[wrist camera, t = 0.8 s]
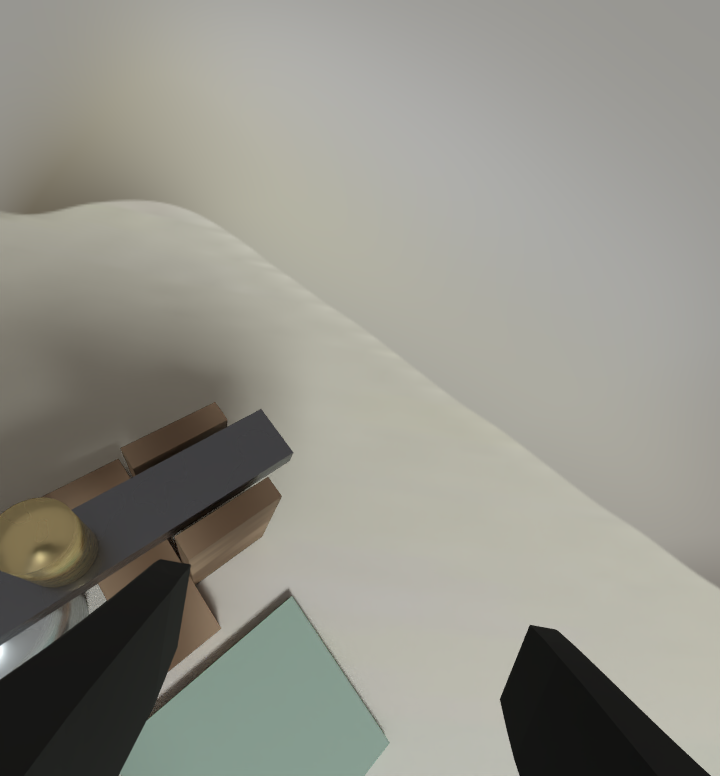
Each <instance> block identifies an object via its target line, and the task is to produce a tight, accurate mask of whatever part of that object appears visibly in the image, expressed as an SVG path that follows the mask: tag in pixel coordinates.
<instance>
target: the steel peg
mask: <svg viewBox="0 0 720 776" xmlns="http://www.w3.org/2000/svg"><path fill="white" fill-rule="evenodd" d="M88 615H89V611H88V605H87V602H86V599H85V597H84V596H83V594H81V595H79V596H77V597H76V598H74V599H73V600H71V601H70V602H68V603H66V604H65V605H63V606H62V607H60V608H59V609H57V610H56V611H54V612H52V613H51V614H49V615H48V616H46V617H45V618H43V619H41V620H40V621H38V622H37V623H35V624H34V625H32V626H30V627H29V628H27V629H26V630H24V631H23V632H21V633H20V634H18V635H16V636H15V637H13V638H12V639H10V640H9V641H7V642H5V643H4V644H2V645H1V646H0V679H2V678H3V677H4V676H6V675H7V674H9V673H10V672H12V671H13V670H14V669H16V668H17V667H19V666H20V665H22V664H23V663H24V662H26V661H27V660H29V659H30V658H31V657H33V656H34V655H36V654H37V653H39V652H40V651H41V650H43V649H44V648H46V647H47V646H48V645H50V644H51V643H52V642H54V641H55V640H57V639H58V638H59V637H60V636H62V635H63V634H64V633H66V632H67V631H68V630H70V629H71V628H72V627H74V626H75V625H76V624H78V623H79V622H80V621H82V620H83V619H84V618H86V617H87V616H88Z"/></svg>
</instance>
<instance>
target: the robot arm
mask: <svg viewBox="0 0 720 776" xmlns="http://www.w3.org/2000/svg"><path fill="white" fill-rule="evenodd" d="M190 568H191V564H186V563H180V562H174V561H169V560H163V559H159V560H158V561H156V562H154V563H153V564H152V565H150V566H149V567H148V568H147V569H146V570H144V571H143V572H142V573H141V574H140V575H138V576H137V577H136V578H135V579H134V580H132V581H131V582H130V583H129V584H127V585H126V586H125V587H124V588H122V589H121V590H120V591H119V592H118V593H116V594H115V595H114V596H113V597H111V598H110V599H109V600H107V601H106V602H105V603H104V604H102V605H101V606H100V607H99V608H97V609H96V610H95V611H93V612H92V613H91V614H90V615H88V616H87V617H86V618H84V619H83V620H82V621H80V622H79V623H78V624H76V625H75V626H74V627H72V628H71V629H70V630H68V631H67V632H66V633H64V634H63V635H62V636H60V637H59V638H58V639H57V640H55V641H54V642H52V643H51V644H50V645H48V646H47V647H46V648H44V649H43V650H41V651H40V652H39V653H37V654H36V655H34V656H33V657H31V658H30V659H29V660H27V661H26V662H24V663H23V664H22V665H20V666H19V667H17V668H16V669H14V670H13V671H12V672H10V673H9V674H7V675H6V676H4V677H3V678H2V679H0V776H119V774H120V772H121V770H122V768H123V766H124V764H125V762H126V760H127V758H128V756H129V754H130V752H131V750H132V748H133V746H134V744H135V742H136V740H137V739H138V737H139V735H140V733H141V731H142V729H143V727H144V725H145V723H146V721H147V719H148V717H149V715H150V713H151V711H152V709H153V707H154V704H155V702H156V700H157V697H158V695H159V692H160V690H161V687H162V685H163V682H164V680H165V677H166V675H167V672H168V670H169V667H170V665H171V662H172V660H173V657H174V655H175V652H176V650H177V647H178V641H179V635H180V629H181V623H182V617H183V611H184V605H185V599H186V593H187V587H188V581H189V575H190ZM500 701H501V706H502V710H503V715H504V719H505V724H506V728H507V733H508V737H509V740H510V744H511V748H512V752H513V756H514V760H515V763H516V766H517V769H518V772H519V775H520V776H711V775H709V774H708V773H707V772H706V771H705V770H704V769H703V768H702V767H701V766H700V765H698V764H697V763H696V762H695V761H694V760H693V759H692V758H691V757H690V756H689V755H688V754H687V753H686V752H685V751H683V750H682V749H681V748H680V747H679V746H678V745H677V744H676V743H675V742H674V741H673V740H672V739H671V738H670V737H669V736H668V735H667V734H665V733H664V732H663V731H662V730H661V729H660V728H659V727H658V726H657V725H656V724H655V723H654V722H653V721H652V720H651V719H650V718H649V717H648V716H647V715H646V714H645V713H644V712H643V711H642V710H641V709H640V708H638V707H637V706H636V705H635V704H634V703H633V702H632V701H631V700H630V699H629V698H628V697H627V696H626V695H625V694H624V693H623V692H622V691H621V690H620V689H619V688H618V687H617V686H616V685H615V684H614V683H613V682H612V681H611V680H610V679H609V678H608V677H607V676H606V675H605V674H604V673H603V672H602V671H600V670H599V669H598V668H597V667H596V666H595V665H594V664H593V663H592V662H591V661H590V660H589V659H588V658H587V657H586V656H585V655H584V654H583V653H582V652H581V651H580V650H579V649H577V648H576V647H575V646H574V645H573V644H572V643H571V642H570V641H569V640H568V639H567V638H565V637H564V636H563V635H562V634H561V633H560V632H559V631H557V630H555V629H550V628H544V627H538V626H533V625H530V626H529V628H528V631H527V633H526V636H525V638H524V641H523V643H522V646H521V648H520V651H519V653H518V656H517V658H516V661H515V663H514V666H513V668H512V671H511V673H510V675H509V678H508V680H507V683H506V685H505V688H504V690H503V693H502V695H501V698H500Z"/></svg>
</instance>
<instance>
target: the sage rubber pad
mask: <svg viewBox="0 0 720 776" xmlns="http://www.w3.org/2000/svg"><path fill="white" fill-rule="evenodd" d="M389 743H390V742H389V741H388V739H387V738H386V736H385V735H384V733H383V732H382V730H381V729H380V727H379V726H378V724H377V723H376V721H375V720H374V718H373V717H372V715H371V714H370V712H369V711H368V709H367V708H366V706H365V705H364V703H363V702H362V700H361V699H360V697H359V696H358V694H357V693H356V691H355V690H354V688H353V687H352V685H351V684H350V682H349V681H348V679H347V678H346V676H345V675H344V673H343V672H342V670H341V669H340V667H339V666H338V664H337V663H336V661H335V660H334V658H333V657H332V655H331V654H330V652H329V651H328V649H327V648H326V646H325V645H324V643H323V642H322V640H321V639H320V637H319V636H318V634H317V633H316V631H315V630H314V628H313V627H312V625H311V624H310V622H309V621H308V619H307V618H306V616H305V615H304V613H303V612H302V610H301V609H300V607H299V606H298V604H297V603H296V601H295V600H294V598H293V597H292V596H291V597H290V598H289V599H287V600H286V601H285V602H284V603H283V604H282V605H280V606H279V607H278V608H277V609H276V610H275V611H273V612H272V613H271V614H270V615H269V616H268V617H266V618H265V619H264V620H263V621H262V622H261V623H259V624H258V625H257V626H256V627H255V628H254V629H252V630H251V631H250V632H249V633H248V634H247V635H246V636H244V637H243V638H242V639H241V640H240V641H239V642H237V643H236V644H235V645H234V646H233V647H232V648H230V649H229V650H228V651H227V652H226V653H225V654H223V655H222V656H221V657H220V658H219V659H218V660H216V661H215V662H214V663H213V664H212V665H211V666H209V667H208V668H207V669H206V670H205V671H204V672H202V673H201V674H200V675H199V676H198V677H197V678H195V679H194V680H193V681H192V682H191V683H190V684H188V685H187V686H186V687H185V688H184V689H183V690H181V691H180V692H179V693H178V694H177V695H176V696H174V697H173V698H172V699H171V700H170V701H169V702H167V703H166V704H165V705H164V706H163V707H162V708H161V709H159V710H158V711H157V712H156V713H155V714H154V715H152V716H151V717H150V718H149V719H148V720H147V721H146V723H145V725H144V727H143V729H142V731H141V733H140V735H139V737H138V739H137V740H136V742H135V744H134V746H133V748H132V750H131V752H130V754H129V756H128V758H127V760H126V762H125V764H124V766H123V768H122V770H121V772H120V774H121V776H365V774H366V773H367V772H368V770H369V769H370V768H371V766H372V765H373V764H374V763H375V761H376V760H377V759H378V757H379V756H380V755H381V753H382V752H383V751H384V750H385V748H386V747H387V746H388V744H389Z"/></svg>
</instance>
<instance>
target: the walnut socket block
mask: <svg viewBox="0 0 720 776" xmlns="http://www.w3.org/2000/svg"><path fill="white" fill-rule="evenodd" d="M227 420H228V419H227V418H226V417H225V415H224V414H223V412H222V411H221V410H220V408H219V407H218V405H217V404H216V402H214V403H212V404H210V405H208V406H206V407H204V408H202V409H200V410H198V411H196V412H194V413H192V414H190V415H188V416H185V417H183V418H181V419H179V420H177V421H175V422H173V423H171V424H169V425H167V426H165V427H163V428H161V429H159V430H157V431H155V432H153V433H151V434H148V435H146V436H144V437H142V438H140V439H138V440H136V441H134V442H132V443H130V444H128V445H126V446H124V447H122V448H120V449H121V451H122V453H123V456H124V458H125V460H126V462H127V465H128V467H129V469H130V472H131V474H132V476H133V477H134V476H136V475H138V474H140V473H142V472H143V471H145V470H147V469H149V468H151V467H153V466H155V465H157V464H158V463H160V462H162V461H164V460H166V459H168V458H170V457H172V456H174V455H175V454H177V453H179V452H181V451H183V450H185V449H187V448H189V447H191V446H192V445H194V444H196V443H198V442H200V441H202V440H204V439H206V438H207V437H209V436H211V435H213V434H215V433H217V432H219V431H221V430H223V429H224V428H226V427H227ZM128 479H130V477H129V475H128V474H127V472H126V470H125V469H124V467H123V465H122V464H121V462H120V460H119V459H117V460H115V461H113V462H111V463H109V464H107V465H105V466H103V467H101V468H99V469H97V470H95V471H93V472H91V473H89V474H87V475H85V476H83V477H81V478H79V479H77V480H75V481H73V482H71V483H69V484H67V485H65V486H63V487H61V488H59V489H57V490H55V491H53V492H51V493H49V494H47V495H45V496H43V497H41V498H52V499H56V500H58V501H61V502H62V503H64V504H65V505H67V506H68V507H69V508H70V509H71V510H72V509H74V508H76V507H78V506H79V505H81V504H83V503H85V502H87V501H89V500H91V499H93V498H94V497H96V496H98V495H100V494H102V493H104V492H106V491H108V490H110V489H111V488H113V487H115V486H117V485H119V484H121V483H123V482H125V481H126V480H128ZM281 497H282V496H281V494H280V493H279V492H278V490H277V489H276V487H275V486H274V484H273V483H272V482H271V480H270V479H269V477H267V478H265V479H264V480H262V481H261V482H259V483H258V484H256V485H254V486H253V487H251V488H250V489H248V490H247V491H245V492H244V493H242V494H240V495H239V496H237V497H236V498H234V499H233V500H231V501H229V502H228V503H226V504H225V505H223V506H222V507H220V508H219V509H217V510H215V511H214V512H212V513H211V514H209V515H208V516H206V517H205V518H203V519H201V520H200V521H198V522H197V523H195V524H194V525H192V526H191V527H189V528H187V529H186V530H184V531H183V532H181V533H180V534H178V535H177V536H175V540H176V544H177V547H178V551H179V554H180V557H181V561H182V563H186V564H191V568H190V575H189V581H188V587H187V593H186V599H185V605H184V611H183V617H182V623H181V629H180V635H179V641H178V647H177V650H176V652H175V655H174V657H173V660H172V662H171V665H170V667H169V670H168V672H169V671H170V670H171V669H172V668H173V667H175V666H176V665H177V664H178V663H180V662H181V661H182V660H183V659H184V658H186V657H187V656H188V655H189V654H191V653H192V652H193V651H194V650H195V649H197V648H198V647H199V646H200V645H202V644H203V643H204V642H205V641H206V640H208V639H209V638H210V637H211V636H213V635H214V634H215V633H216V632H217V631H219V630H220V629H221V627H220V626H219V624H218V622H217V621H216V619H215V617H214V616H213V614H212V613H211V611H210V609H209V608H208V606H207V604H206V603H205V601H204V599H203V598H202V596H201V594H200V593H199V591H198V589H197V588H196V586H195V585H196V584H197V583H199V582H200V581H202V580H203V579H204V578H206V577H207V576H208V575H210V574H211V573H213V572H214V571H215V570H217V569H218V568H219V567H221V566H222V565H224V564H225V563H226V562H228V561H229V560H230V559H232V558H233V557H235V556H236V555H237V554H239V553H240V552H241V551H243V550H244V549H246V548H247V547H248V546H250V545H251V544H252V543H254V542H255V541H257V540H258V539H259V538H261V537H262V536H263V534H264V532H265V530H266V527H267V525H268V523H269V521H270V519H271V517H272V515H273V513H274V511H275V509H276V507H277V505H278V503H279V501H280V499H281ZM159 559H163V560H169V561H174V562H180V563H181V561H180V560H179V558H178V556H177V555H176V553H175V551H174V550H173V548H172V546H171V545H170V543H169V541H168V540H165V541H164V542H162V543H160V544H159V545H157V546H156V547H154V548H153V549H151V550H149V551H148V552H146V553H145V554H143V555H142V556H140V557H138V558H137V559H135V560H134V561H132V562H131V563H129V564H128V565H126V566H124V567H123V568H121V569H120V570H118V571H117V572H115V573H113V574H112V575H110V576H109V577H107V578H106V579H104V580H102V581H101V582H99V583H98V585H99V586H100V588H101V590H102V592H103V594H104V596H105V598H106V599H107V600H109V599H110V598H111V597H113V596H114V595H115V594H116V593H118V592H119V591H120V590H121V589H122V588H124V587H125V586H126V585H127V584H129V583H130V582H131V581H132V580H134V579H135V578H136V577H137V576H138V575H140V574H141V573H142V572H143V571H144V570H146V569H147V568H148V567H149V566H150V565H152V564H153V563H154V562H156V561H158V560H159Z"/></svg>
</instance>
